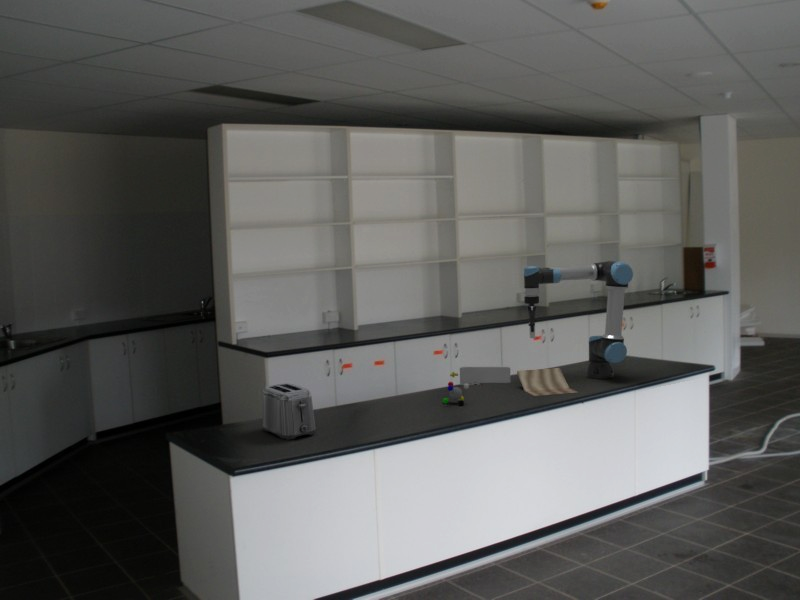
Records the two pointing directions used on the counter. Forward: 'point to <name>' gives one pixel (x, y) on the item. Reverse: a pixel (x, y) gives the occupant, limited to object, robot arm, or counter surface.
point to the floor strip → (552, 392)
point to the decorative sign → (483, 374)
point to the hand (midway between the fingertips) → (532, 336)
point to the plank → (542, 379)
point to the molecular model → (456, 393)
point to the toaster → (288, 411)
